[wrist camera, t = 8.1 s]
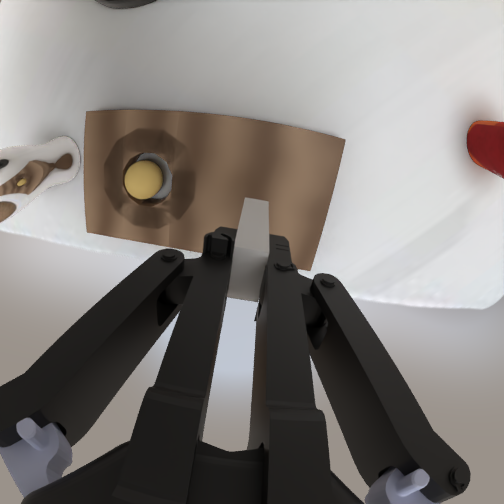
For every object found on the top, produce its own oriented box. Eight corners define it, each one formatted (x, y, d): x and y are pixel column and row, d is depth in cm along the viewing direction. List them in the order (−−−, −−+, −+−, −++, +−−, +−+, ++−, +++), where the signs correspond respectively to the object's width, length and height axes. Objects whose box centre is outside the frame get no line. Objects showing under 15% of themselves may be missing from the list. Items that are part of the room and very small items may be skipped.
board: (97, 224, 30) (86, 232, 28) (98, 110, 24) (86, 111, 21) (307, 259, 31) (310, 271, 29) (338, 137, 24) (345, 139, 22)
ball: (123, 172, 26) (111, 182, 23) (150, 149, 26) (141, 156, 22) (146, 199, 28) (137, 212, 25) (173, 177, 28) (167, 188, 24)
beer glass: (73, 122, 24) (-26, 145, 11) (90, 172, 27) (-3, 221, 14) (40, 148, 25) (-47, 182, 12) (56, 193, 28) (-26, 244, 15)
